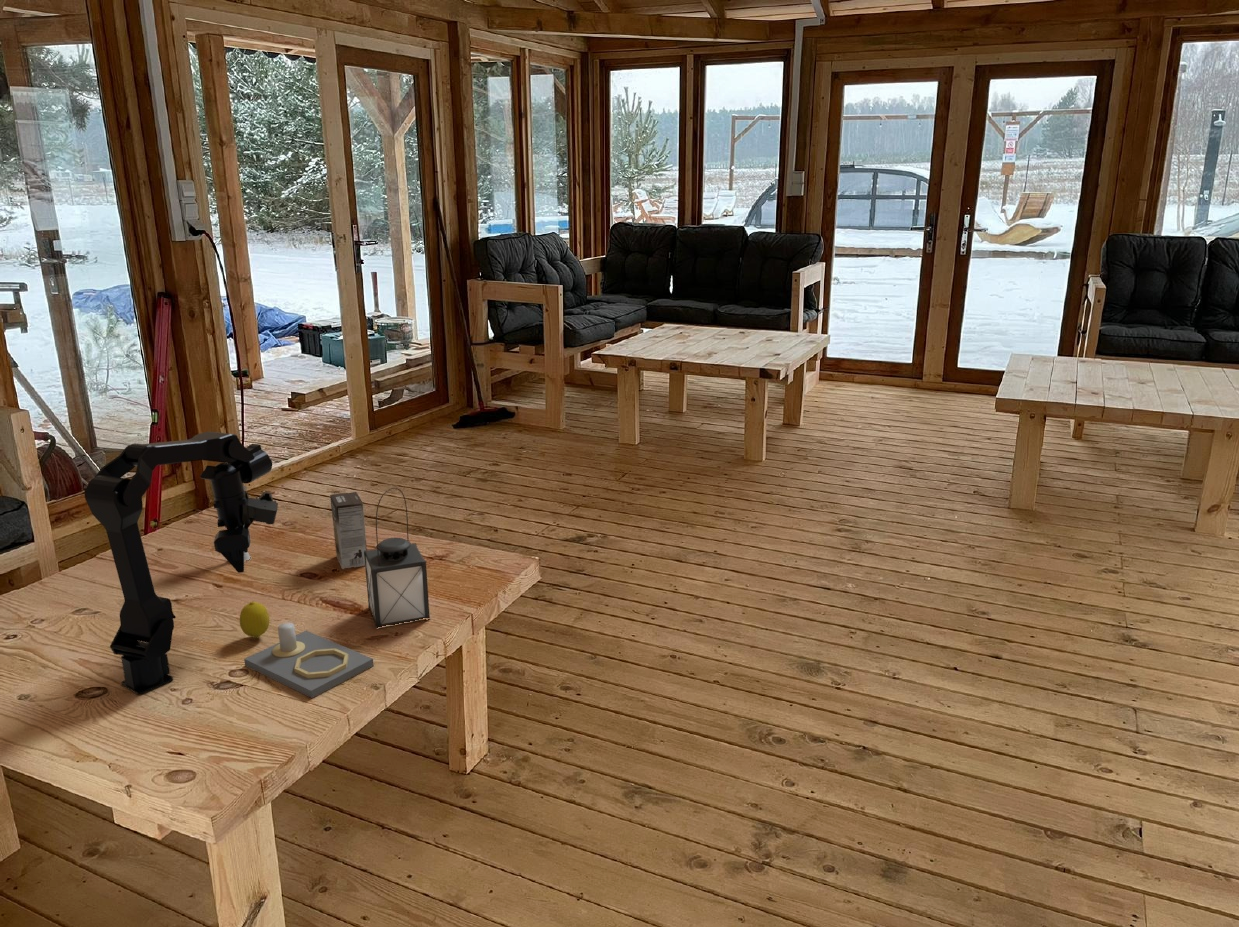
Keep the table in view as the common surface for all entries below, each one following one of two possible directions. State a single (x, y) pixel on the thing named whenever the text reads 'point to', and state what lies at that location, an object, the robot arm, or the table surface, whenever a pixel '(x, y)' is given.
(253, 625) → the lemon
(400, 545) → the lantern
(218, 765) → the table surface
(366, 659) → the board
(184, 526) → the table surface
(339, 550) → the coffee box
